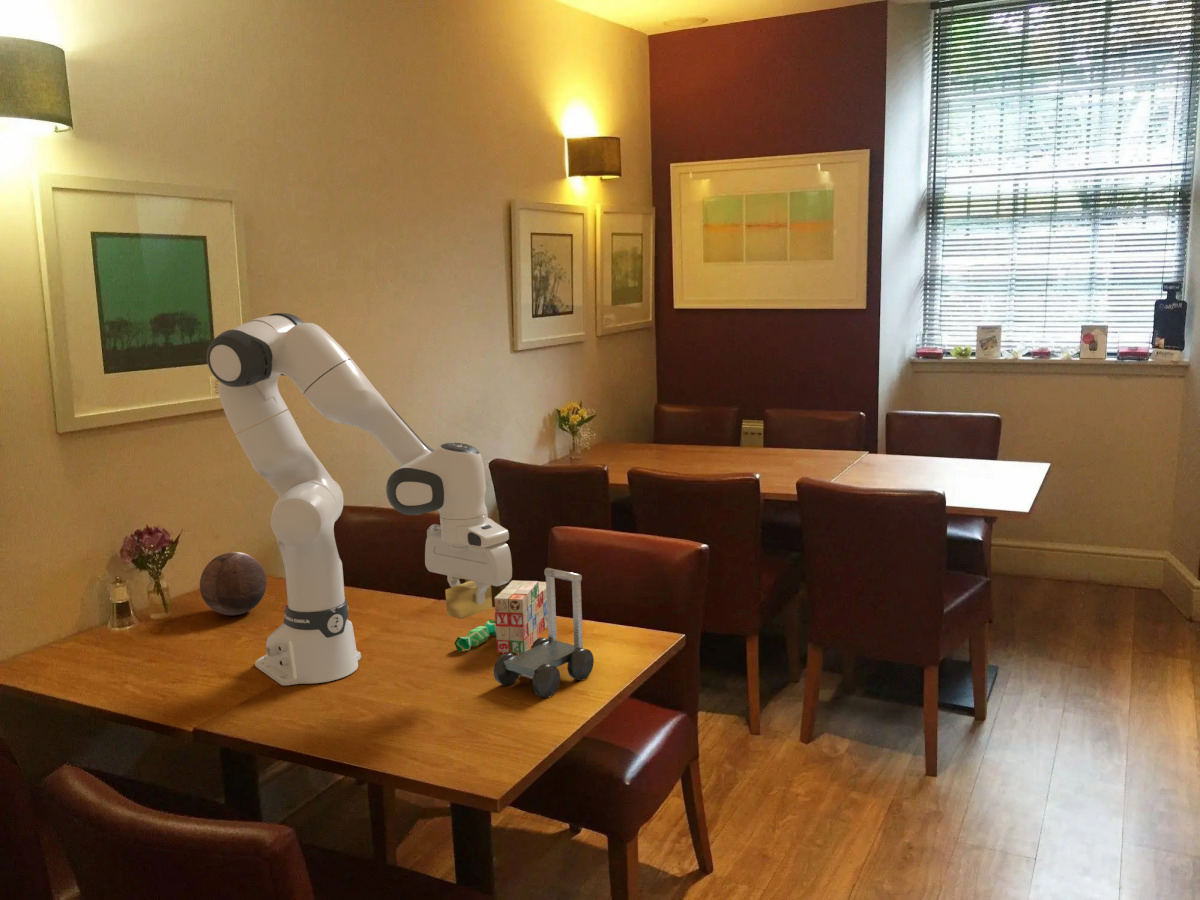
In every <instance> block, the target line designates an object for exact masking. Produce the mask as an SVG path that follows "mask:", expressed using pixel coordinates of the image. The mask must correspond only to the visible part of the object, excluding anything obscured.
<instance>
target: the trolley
mask: <svg viewBox="0 0 1200 900" xmlns="http://www.w3.org/2000/svg"><path fill="white" fill-rule="evenodd" d="M543 574H544V576H545V582H546V594H547V618H548V626H547V637H548V638H546V637H542V636H541V637H538V638H537V640H536V641H535V642H534V643H533V645H532V646H531V648H530V649H529V650H527V651H525V652H523V653H520V654H512V653H501V654H500V656H499V657H497V659H496V660H495V664H494V666H493V667H494V669H493V677H494V679H495V682H497V683H499V684H501V685H503V686H504V685H505V686H511V685H510V684H512V683H513V684H514V683H515V682H516V681H517V680H518V679H519V677H524V678H526V679H527V678H528V679H531V680H532V681H531V682H532V683H531V686H532V691H533V693H534V694H535V695H536V696H539V697H542V698H547V697H548V698H550V697H549V696H551V695H552V696H553V695H554V694H555V693H556V692H557V690H558V689H559V686H560V681H561V673H560V670H559V668H558V667H562V665H565V664H567V673H568V675H569V676H570V677H571V678H572V679H574V680H578V681H584V680H586V679H587V678H588V677H589V676H590V674H591V673H592V671H593V667H594V662H595V659H594V655H593V652H592V651H591V650H590V649H587V648H584V641H583V639H584V638H583V614H582V613H583V610H582V606H583V605H582V586H581V585H582V584H581V582H582V580H583V576H582V574H579V573H574V572H569V571H565V570H561V569H554V568H551V567H546V568H545V569H544V572H543ZM555 579H560V580H564V581H568V582H571V590H572V592H571V595H572V621H573V644H571V643H568V642H564V641H559V640H558V638H557V637H558V635H557V612H556V609H557V608H556V587H555V586H556V585H555V584H556V583H555ZM583 679H584V680H583ZM513 684H512V685H513ZM552 696H551V697H552ZM548 698H547V699H548Z"/></svg>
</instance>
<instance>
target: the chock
mask: <svg viewBox="0 0 1200 900" xmlns="http://www.w3.org/2000/svg"><path fill="white" fill-rule="evenodd" d="M477 589H478V587H476V582H475V581H470V580H467V581H466V582H463V583H460V585H457V586H454V587H452V588H451V587H448V588H446V589H445V590H444V591H445V605H446V607H445V608H446V616H447V617H451V618H456V619H460V620H464V619H465V618H469V617H471V616H474V615H476V614H479V613H481V612H484V611H486V610H488V609H491V608H493V597H492V585H489V586H488V588H487V591H486V593H485V602H484V603H482V604H477V603H474V602H473V594H476V592H477Z"/></svg>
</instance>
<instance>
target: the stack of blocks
mask: <svg viewBox="0 0 1200 900" xmlns="http://www.w3.org/2000/svg"><path fill="white" fill-rule="evenodd" d="M493 601H494V621H495V623H496V635H495V637H496V640H495V641H496V642H495V643H496V653H497V652H499V653H498V654H504V653H523V652H525V651H527V650H528V649H529V648H530V647H531V645H532V644H533V643H534V642H535V641H536V640H537V639H538V638H540V636H541V635H540V634H542V633H543V632H544V630H545V629H547V628H548V618H547V594H546V581H538V580H510V581H509V582H508V583H507V585H506V586H505V587H504V588H503V589H502V590H501V591H500V592H499V593H497V595H495V596H494V600H493ZM542 631H543V632H542ZM541 632H542V633H541ZM539 635H540V636H539ZM530 649H531V648H530ZM503 652H504V653H503Z"/></svg>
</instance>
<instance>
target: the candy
mask: <svg viewBox="0 0 1200 900" xmlns="http://www.w3.org/2000/svg"><path fill="white" fill-rule="evenodd" d="M494 635H495V636H496V623H495V620H492V619H489V620H487V621H486V622H485V625H484V626H483V625H479V626H476V627H474V628H473V629H471V630H470V631H469V632H468V634H467V635H466V636H460V637H459V636H457V638H456V639H455V641H454V646H455V648H456V651H457V652H458V651H462V650H465V649H468V652H469V651H471V648H472V647H475V646H476V647H478V646H479V644H480V645H481V644H483V643H485V642H487V640H488V639H489V637H491V636H494ZM484 641H485V642H484ZM482 642H483V643H482ZM462 652H463V651H462Z"/></svg>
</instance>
